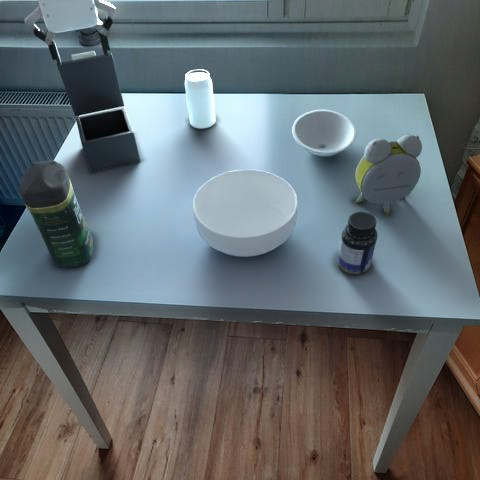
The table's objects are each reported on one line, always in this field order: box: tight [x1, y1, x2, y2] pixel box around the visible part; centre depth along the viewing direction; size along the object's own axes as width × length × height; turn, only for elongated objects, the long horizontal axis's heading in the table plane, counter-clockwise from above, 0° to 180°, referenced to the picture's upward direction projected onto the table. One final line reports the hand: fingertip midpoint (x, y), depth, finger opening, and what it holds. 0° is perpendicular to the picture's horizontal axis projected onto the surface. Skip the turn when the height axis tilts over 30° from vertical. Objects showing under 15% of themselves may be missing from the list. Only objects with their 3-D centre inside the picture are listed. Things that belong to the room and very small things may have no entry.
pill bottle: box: [336, 210, 379, 276], centre depth 84 cm, size 6×6×11 cm
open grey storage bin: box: [75, 106, 141, 173], centre depth 110 cm, size 12×12×8 cm
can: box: [184, 69, 216, 129], centre depth 115 cm, size 6×6×12 cm
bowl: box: [192, 168, 299, 258], centre depth 91 cm, size 20×20×8 cm
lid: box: [56, 50, 125, 117], centre depth 105 cm, size 12×12×5 cm
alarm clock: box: [354, 134, 423, 216], centre depth 92 cm, size 12×7×15 cm, turn 99°
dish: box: [291, 109, 357, 157], centre depth 108 cm, size 18×14×5 cm
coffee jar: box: [19, 160, 94, 269], centre depth 86 cm, size 10×8×19 cm
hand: (82, 58), depth 97 cm, fingers open, 9 cm apart
